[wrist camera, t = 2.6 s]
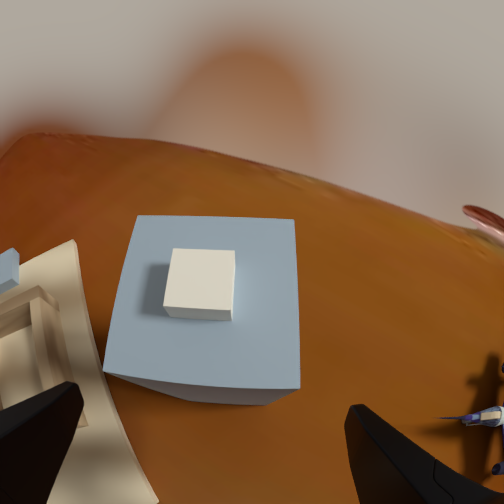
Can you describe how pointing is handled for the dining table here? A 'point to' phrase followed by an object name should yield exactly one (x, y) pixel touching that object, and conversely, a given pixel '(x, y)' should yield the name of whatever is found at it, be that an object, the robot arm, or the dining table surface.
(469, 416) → the toy airplane
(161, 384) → the blue-grey rectangular block
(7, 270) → the light blue bar
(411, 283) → the dining table surface
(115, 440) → the jig
